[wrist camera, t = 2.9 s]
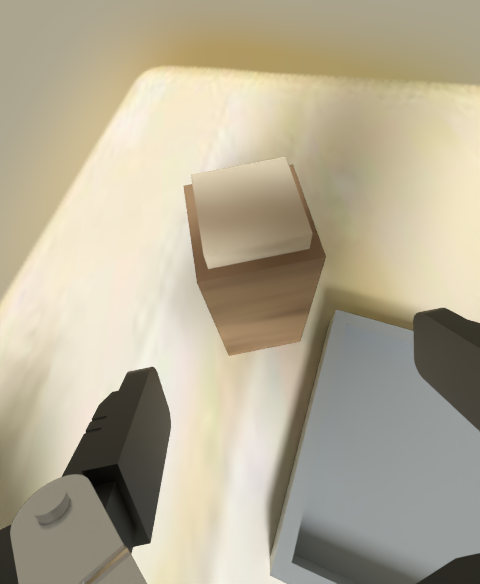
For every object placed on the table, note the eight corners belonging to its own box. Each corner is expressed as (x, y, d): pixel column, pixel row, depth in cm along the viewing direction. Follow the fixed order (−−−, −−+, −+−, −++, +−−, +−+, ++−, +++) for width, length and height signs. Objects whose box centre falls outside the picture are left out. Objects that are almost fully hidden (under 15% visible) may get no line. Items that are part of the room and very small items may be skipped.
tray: (329, 322, 22) (336, 309, 20) (558, 389, 20) (596, 382, 17) (269, 558, 17) (270, 575, 15) (573, 699, 14) (631, 747, 12)
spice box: (218, 291, 24) (177, 168, 13) (282, 278, 24) (294, 145, 14) (228, 355, 22) (191, 269, 11) (300, 341, 22) (330, 242, 11)
